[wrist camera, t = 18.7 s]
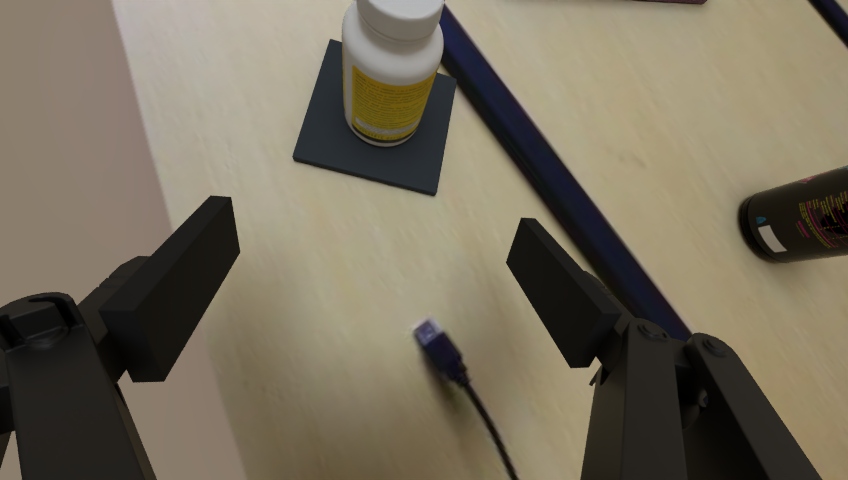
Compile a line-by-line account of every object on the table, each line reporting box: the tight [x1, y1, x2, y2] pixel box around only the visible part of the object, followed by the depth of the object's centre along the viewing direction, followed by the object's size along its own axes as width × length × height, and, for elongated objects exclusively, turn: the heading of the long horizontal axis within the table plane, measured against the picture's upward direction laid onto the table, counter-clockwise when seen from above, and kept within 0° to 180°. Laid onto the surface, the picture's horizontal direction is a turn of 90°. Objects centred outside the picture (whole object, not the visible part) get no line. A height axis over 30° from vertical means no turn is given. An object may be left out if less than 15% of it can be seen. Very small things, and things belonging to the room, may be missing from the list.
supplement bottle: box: [342, 0, 445, 147], centre depth 19 cm, size 5×5×10 cm
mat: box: [293, 39, 457, 196], centre depth 24 cm, size 10×10×1 cm
